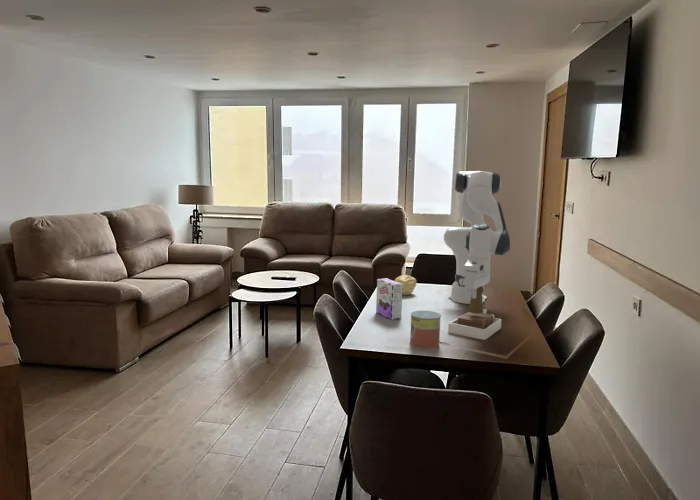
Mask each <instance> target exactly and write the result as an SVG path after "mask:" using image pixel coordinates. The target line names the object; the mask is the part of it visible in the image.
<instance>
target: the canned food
mask: <svg viewBox="0 0 700 500" xmlns="http://www.w3.org/2000/svg"><path fill="white" fill-rule="evenodd" d="M441 317H442V315H441V314H440V313H439V312H435V311H432V310H415V311H412V312H411V313H410V336H409V337H410V339H409V345H410V346H411V347H413V348H415V349H418V350H424V351H425V350H426V351H427V350H435V349H437V348H439V347H440V336H441V335H440V334H441V332H440V331H441Z"/></svg>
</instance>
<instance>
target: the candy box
mask: <svg viewBox="0 0 700 500" xmlns="http://www.w3.org/2000/svg"><path fill="white" fill-rule="evenodd" d="M402 290H403V284H401V283H398V282H395V280H392V279H389V278H387V277H384V278H377V279H376V304H375V305H376V309H375V311H376V312H375V313H376V314H379V315H380V316H382V317H384V318H386V319H389V320H391V321H392V320H393V321H394V320H401V319H402V310H403V309H402V307H403V295H402Z"/></svg>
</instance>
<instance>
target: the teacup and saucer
mask: <svg viewBox="0 0 700 500" xmlns="http://www.w3.org/2000/svg"><path fill="white" fill-rule="evenodd" d="M487 312H488V311H487V308H483V313H485V314H487ZM490 314H491V315H493V318H495V315H494V314H492V313H490Z"/></svg>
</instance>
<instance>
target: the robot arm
mask: <svg viewBox="0 0 700 500" xmlns="http://www.w3.org/2000/svg"><path fill="white" fill-rule="evenodd" d="M501 187H502V178H501V176H500V174H499V173H498V172H493V171H492V172H491V171H482V170H469V171H465V170H462V171H458V172H456V174H455V176H454V178H453V188H454V190H455V191H456V192H457V193H460V194H462V198H461V206H460V207H461V209H460V217H461V218H462V220H464V221H465V222H467V223H469V224H471V225H470V226H454V227H449V228H447V229H446V230H445V232H444V234H443V241H444V243H445V245H446V246H447V247H448V248H450V249H451V251H452V253H453V254H454V256H455V260H456V270H455V272H456V273H455V274H454V275H455V276H454V282H453V283H452V285H451V293H450V294H451V295H449V296H448V299H450V300H451V301H453V302H455V303H458V304H459V303H460V304H464V305H465V304H467V305H468V304H469V305H470V300H471V295H472V298H474V299H475V298H477V288H479V287H481V286H482V287H483V289H484V288H485V285H487V284H489V283H490V282H491V281H490V280H491V258H492V257H491V255H497V256H504V255H506V254H507V253H508V252H509V251H510V250H511V247H512V245H511V243H512V242H511V237H510V234H509V232H508V228H507V224H506V219H505V215H504V212H503V207H502V206H501V205H502V204H501V203H500V201H497V199H495V197H494V196H493V195H495V194H497V193H498V192H499V191H500V189H501ZM484 215H485V216H488V217H489V218H491V219H492V220H493V222H494V226H495V230H494V231H493V230H492V228H491V226H490V225H488V224H487V223H486V222H485V218H484ZM471 292H472V293H471ZM487 298H488V297H487V295H484V292H483V293H482V303H483V302H484V303H485V302H486V300H487ZM485 299H486V300H485ZM484 303H483V304H484Z"/></svg>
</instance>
